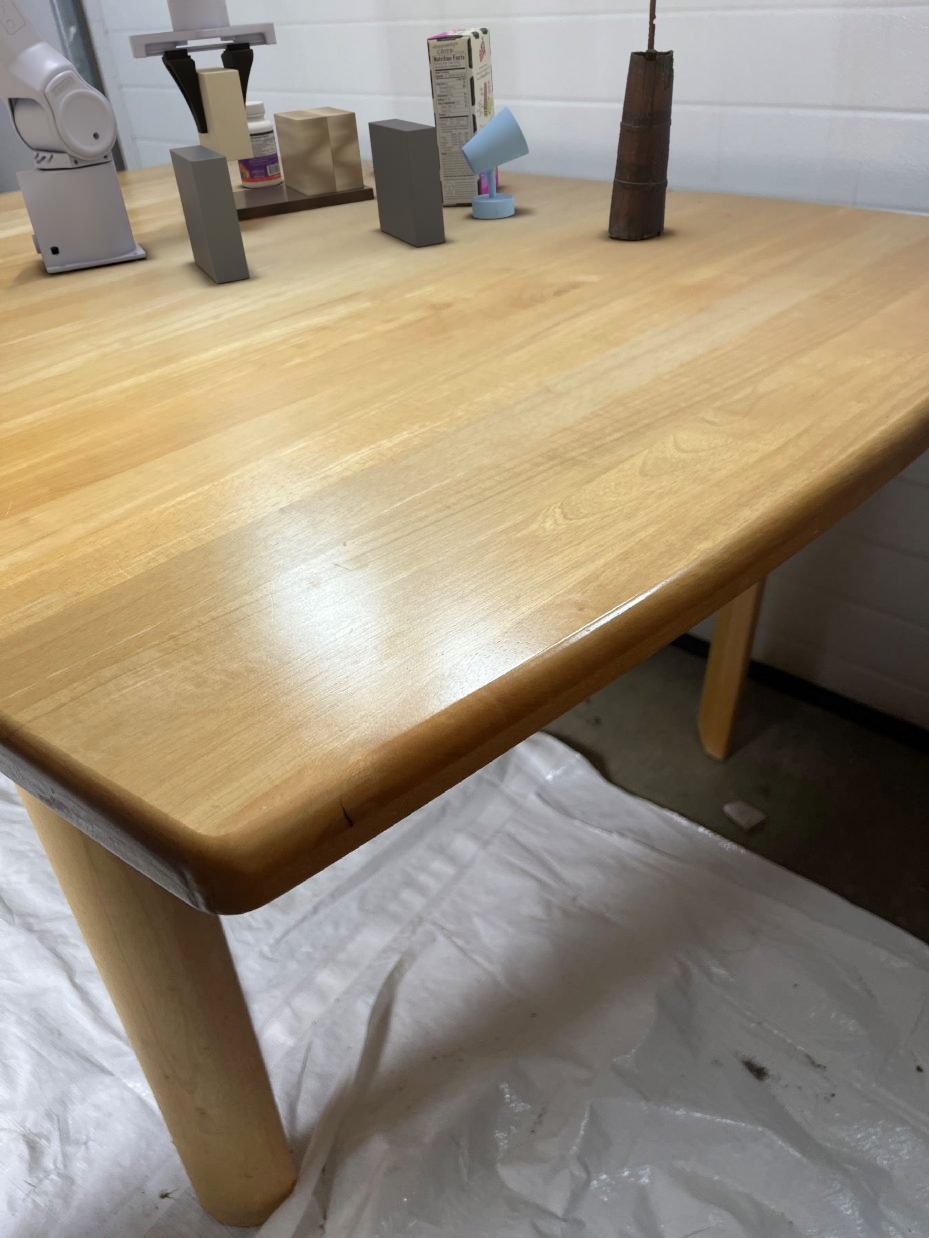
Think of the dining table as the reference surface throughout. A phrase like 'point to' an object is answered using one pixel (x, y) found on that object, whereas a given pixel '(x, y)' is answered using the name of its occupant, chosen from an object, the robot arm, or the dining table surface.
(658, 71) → the butter churn
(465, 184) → the candy bar box
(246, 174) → the pill bottle
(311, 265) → the dining table surface
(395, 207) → the grey books
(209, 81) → the cream book
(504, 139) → the spotlight
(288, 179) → the shelf board
